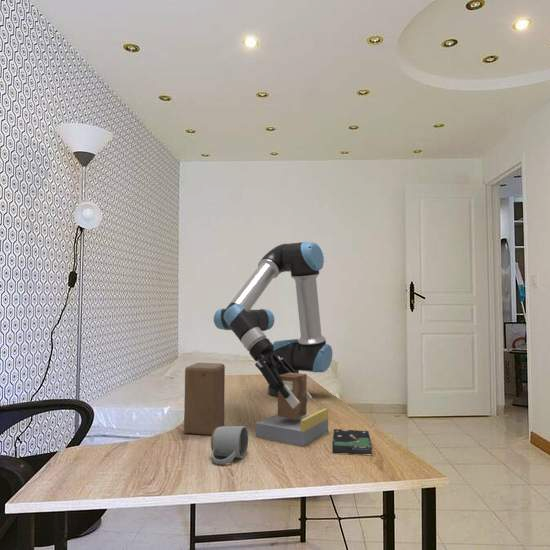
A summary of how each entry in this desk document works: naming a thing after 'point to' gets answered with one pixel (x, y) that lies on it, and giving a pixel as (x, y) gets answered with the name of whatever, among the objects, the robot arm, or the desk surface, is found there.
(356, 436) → the disk drive
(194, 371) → the wooden block
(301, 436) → the dock
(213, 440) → the ceramic mug
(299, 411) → the cardboard box
